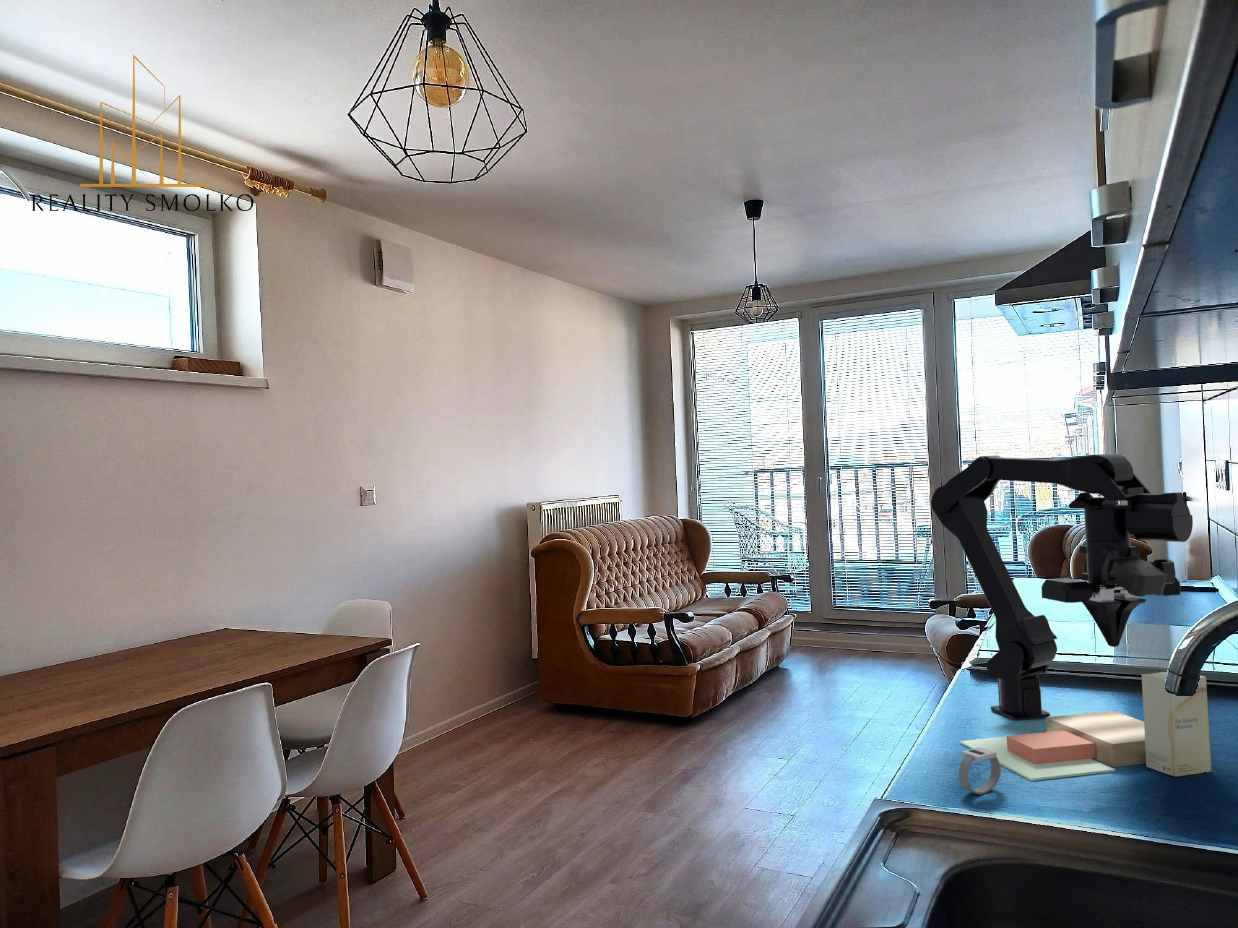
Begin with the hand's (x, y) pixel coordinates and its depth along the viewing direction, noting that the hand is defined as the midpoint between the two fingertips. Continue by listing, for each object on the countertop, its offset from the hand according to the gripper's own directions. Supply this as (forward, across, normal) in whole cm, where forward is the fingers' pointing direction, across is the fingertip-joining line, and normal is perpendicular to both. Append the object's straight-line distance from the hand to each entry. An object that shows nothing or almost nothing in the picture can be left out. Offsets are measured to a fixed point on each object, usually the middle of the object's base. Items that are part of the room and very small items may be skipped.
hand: (1113, 646), depth 124 cm
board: (+13, -4, -4) cm, 14 cm away
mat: (+13, -17, -4) cm, 22 cm away
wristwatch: (+13, -31, -14) cm, 36 cm away
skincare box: (+13, -3, -14) cm, 19 cm away
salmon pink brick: (+12, -15, -5) cm, 19 cm away
